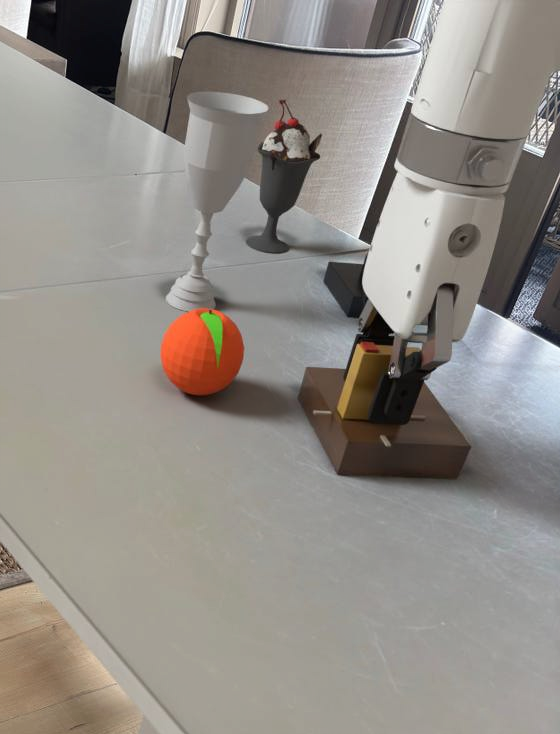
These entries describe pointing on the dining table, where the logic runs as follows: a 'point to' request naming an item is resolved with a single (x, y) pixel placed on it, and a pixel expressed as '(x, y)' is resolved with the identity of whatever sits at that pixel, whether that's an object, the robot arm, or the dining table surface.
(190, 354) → the clementine
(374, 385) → the thumbturn
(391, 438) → the plate
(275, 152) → the sundae
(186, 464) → the dining table surface
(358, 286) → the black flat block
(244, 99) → the chalice
